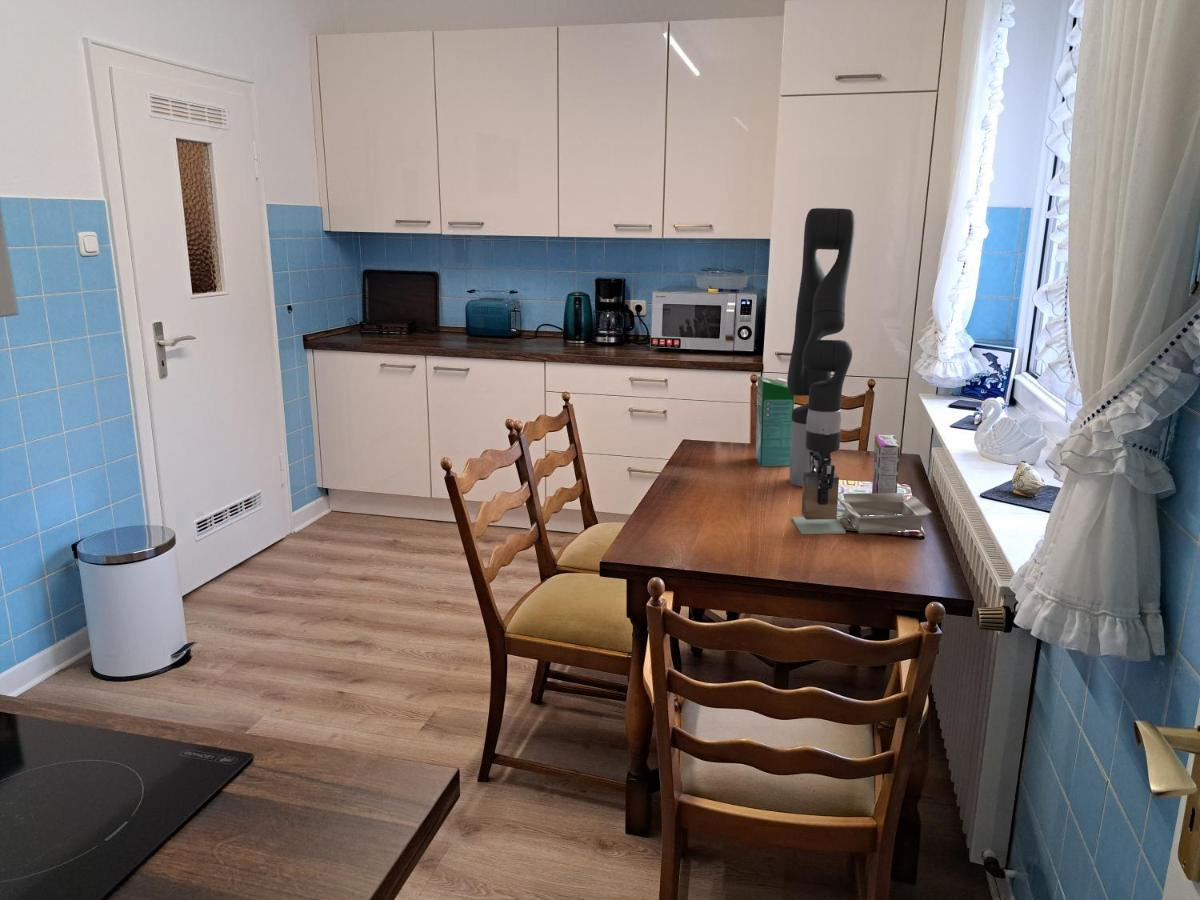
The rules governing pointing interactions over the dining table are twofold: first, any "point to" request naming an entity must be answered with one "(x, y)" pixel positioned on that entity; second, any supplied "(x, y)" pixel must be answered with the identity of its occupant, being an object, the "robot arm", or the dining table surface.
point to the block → (810, 496)
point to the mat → (818, 526)
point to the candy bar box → (885, 464)
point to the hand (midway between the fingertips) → (819, 500)
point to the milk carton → (773, 422)
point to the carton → (883, 512)
